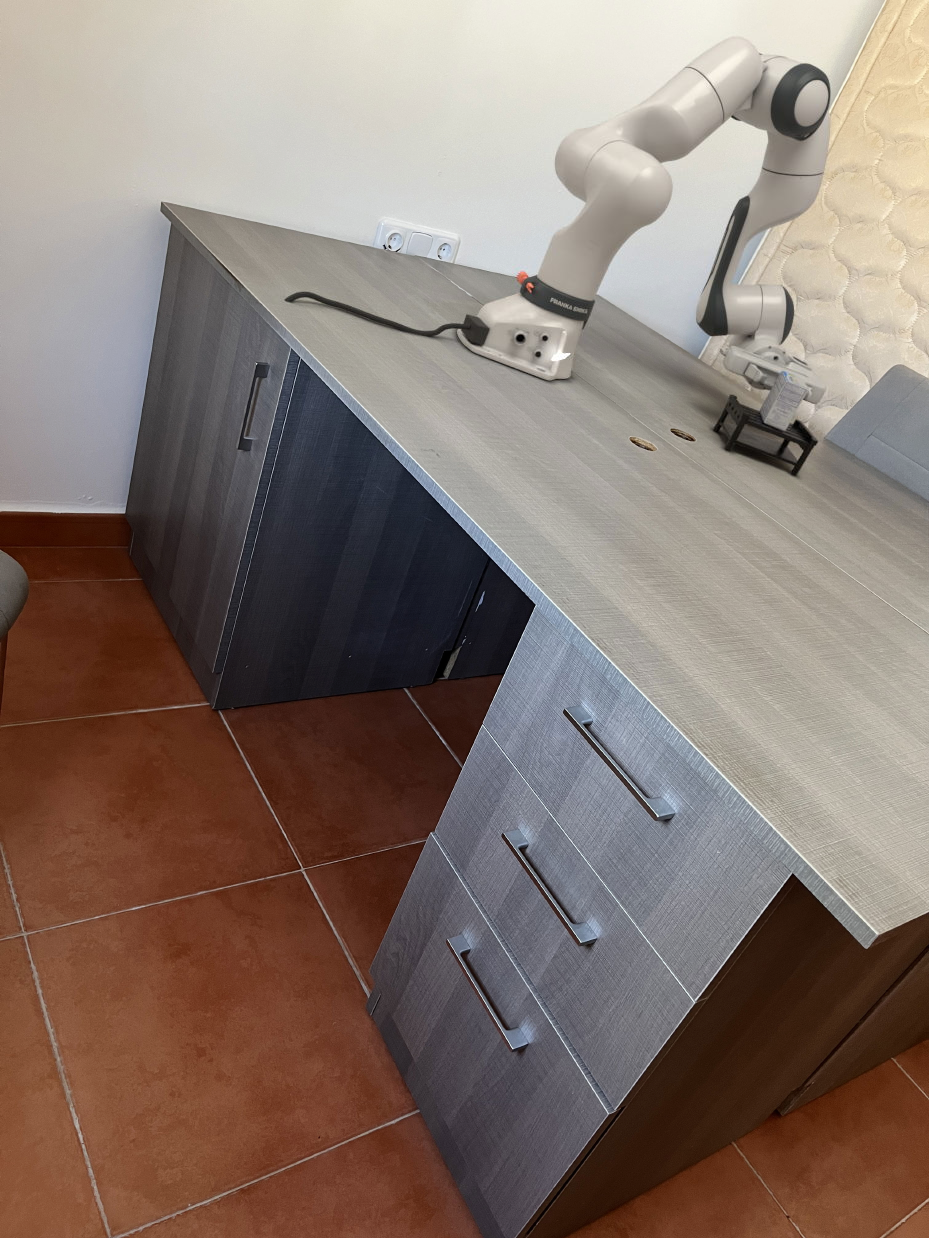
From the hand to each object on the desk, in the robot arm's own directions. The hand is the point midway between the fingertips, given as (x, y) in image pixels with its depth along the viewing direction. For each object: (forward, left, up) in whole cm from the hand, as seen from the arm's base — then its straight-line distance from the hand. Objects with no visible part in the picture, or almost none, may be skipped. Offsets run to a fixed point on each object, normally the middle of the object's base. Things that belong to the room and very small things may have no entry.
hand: (784, 387), depth 173 cm
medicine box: (0, -3, -6) cm, 7 cm away
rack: (-1, -3, -12) cm, 13 cm away
